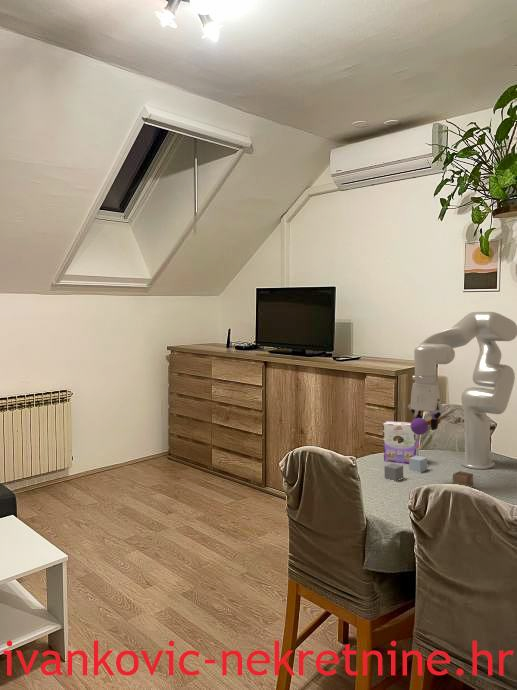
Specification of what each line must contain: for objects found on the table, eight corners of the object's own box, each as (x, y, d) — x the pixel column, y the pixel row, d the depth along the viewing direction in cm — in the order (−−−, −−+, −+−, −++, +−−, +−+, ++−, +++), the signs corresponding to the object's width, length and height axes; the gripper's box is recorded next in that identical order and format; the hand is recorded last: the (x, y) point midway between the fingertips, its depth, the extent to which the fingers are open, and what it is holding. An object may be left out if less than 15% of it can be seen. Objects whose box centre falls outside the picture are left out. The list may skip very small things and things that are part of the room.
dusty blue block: (416, 467, 226) (416, 455, 225) (427, 470, 222) (427, 457, 222) (409, 470, 222) (409, 458, 222) (420, 473, 219) (420, 460, 218)
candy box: (419, 461, 234) (418, 422, 233) (415, 464, 229) (415, 425, 228) (387, 457, 241) (386, 420, 240) (383, 461, 236) (382, 423, 235)
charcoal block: (392, 475, 217) (392, 463, 216) (403, 478, 213) (403, 465, 212) (384, 479, 213) (384, 466, 213) (395, 481, 210) (395, 468, 209)
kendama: (445, 415, 211) (425, 421, 195) (442, 430, 212) (422, 437, 196) (430, 410, 215) (409, 416, 199) (427, 425, 215) (406, 432, 200)
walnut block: (460, 484, 204) (460, 471, 203) (473, 487, 200) (472, 473, 200) (453, 487, 201) (452, 474, 200) (466, 490, 197) (465, 477, 196)
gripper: (399, 379, 208) (401, 426, 209) (441, 383, 195) (442, 433, 196) (411, 376, 213) (412, 423, 214) (452, 380, 200) (453, 429, 201)
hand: (426, 427), depth 205 cm, fingers closed on kendama, 5 cm apart
